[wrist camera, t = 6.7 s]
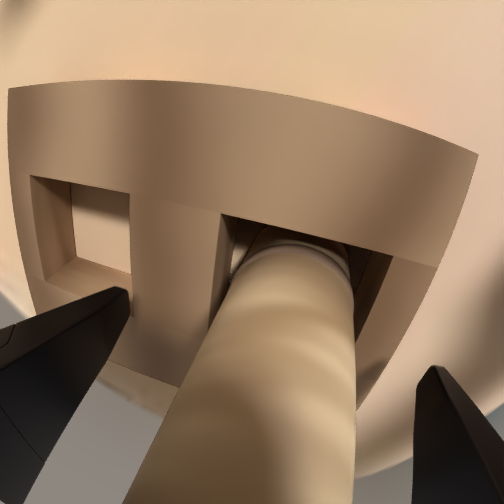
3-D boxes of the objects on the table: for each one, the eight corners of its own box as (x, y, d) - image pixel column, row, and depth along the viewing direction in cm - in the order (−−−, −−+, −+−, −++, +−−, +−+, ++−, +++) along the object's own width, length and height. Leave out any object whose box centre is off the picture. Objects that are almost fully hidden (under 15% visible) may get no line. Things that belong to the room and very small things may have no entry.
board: (447, 141, 9) (478, 154, 7) (345, 387, 14) (344, 428, 12) (49, 83, 11) (8, 88, 8) (65, 301, 16) (40, 326, 14)
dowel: (362, 231, 11) (395, 554, 2) (333, 317, 13) (305, 575, 4) (255, 205, 11) (85, 485, 3) (240, 294, 13) (133, 533, 5)
